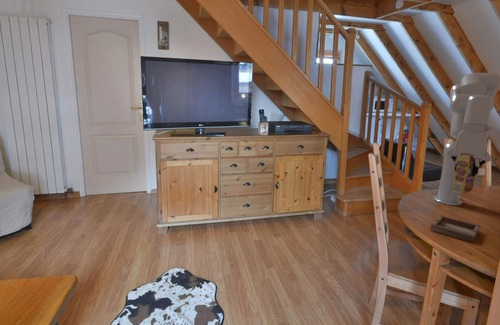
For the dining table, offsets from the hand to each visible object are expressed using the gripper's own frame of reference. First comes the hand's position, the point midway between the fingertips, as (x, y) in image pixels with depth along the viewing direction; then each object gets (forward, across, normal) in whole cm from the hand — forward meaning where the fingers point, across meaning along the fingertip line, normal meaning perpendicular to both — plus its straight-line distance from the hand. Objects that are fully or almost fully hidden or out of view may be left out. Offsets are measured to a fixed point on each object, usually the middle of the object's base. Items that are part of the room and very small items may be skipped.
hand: (465, 174), depth 122 cm
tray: (+24, 0, 0) cm, 24 cm away
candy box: (+8, 0, 0) cm, 8 cm away
